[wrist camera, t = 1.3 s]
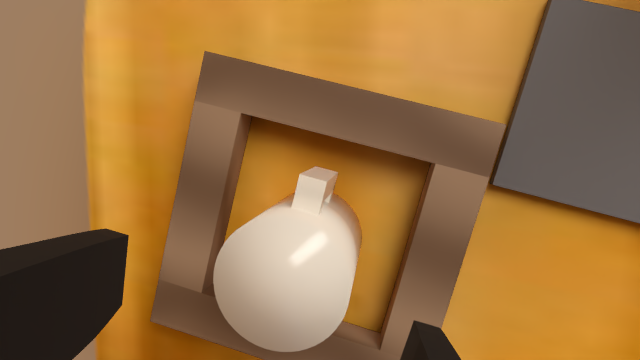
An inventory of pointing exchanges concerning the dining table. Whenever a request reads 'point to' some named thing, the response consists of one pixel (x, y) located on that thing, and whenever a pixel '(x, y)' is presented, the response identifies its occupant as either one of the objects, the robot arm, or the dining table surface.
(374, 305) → the dining table surface
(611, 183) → the mat
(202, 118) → the jug holder
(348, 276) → the jug
